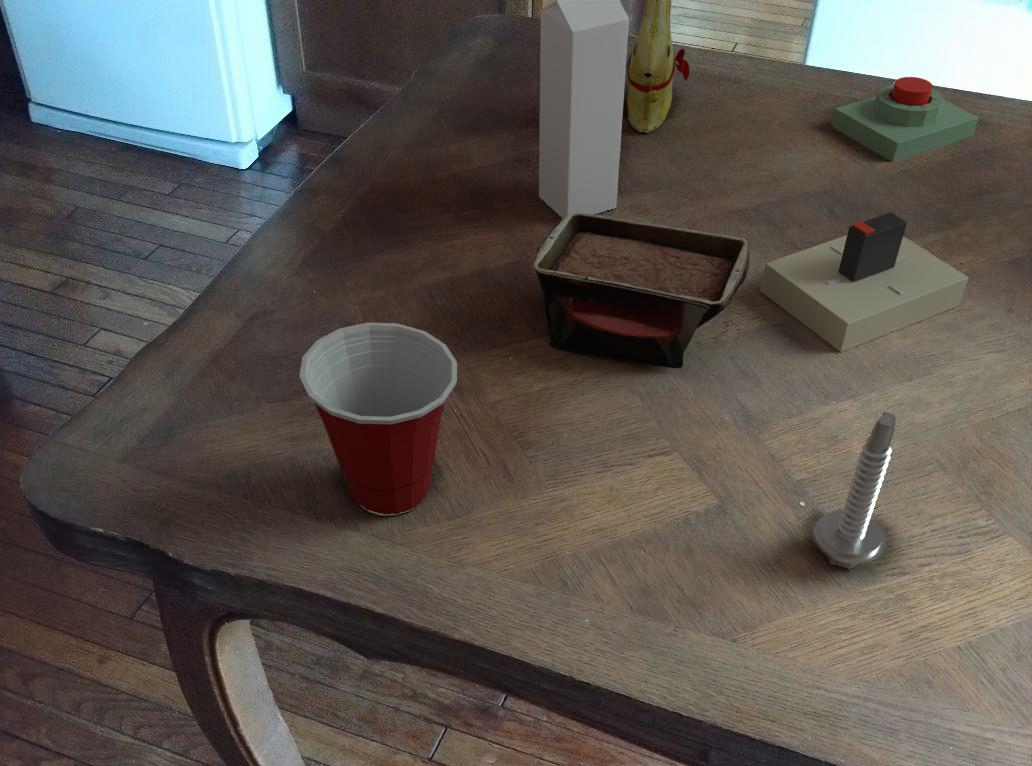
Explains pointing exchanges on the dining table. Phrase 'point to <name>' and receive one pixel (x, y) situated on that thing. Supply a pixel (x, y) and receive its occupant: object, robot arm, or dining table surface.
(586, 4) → the milk
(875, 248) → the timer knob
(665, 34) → the chocolate bunny
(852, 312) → the panel
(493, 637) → the dining table surface
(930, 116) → the button block
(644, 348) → the baking dish
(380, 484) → the plastic cup
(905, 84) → the power button
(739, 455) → the dining table surface
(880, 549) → the screw
